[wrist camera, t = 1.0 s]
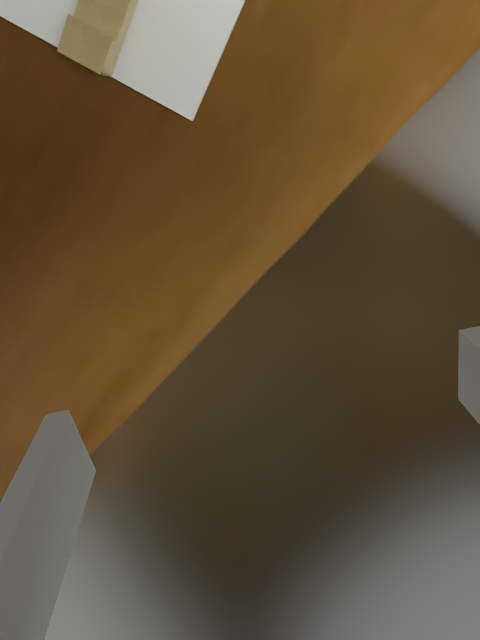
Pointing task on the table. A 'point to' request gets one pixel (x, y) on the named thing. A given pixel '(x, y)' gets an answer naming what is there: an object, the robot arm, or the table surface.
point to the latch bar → (97, 33)
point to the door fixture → (151, 43)
